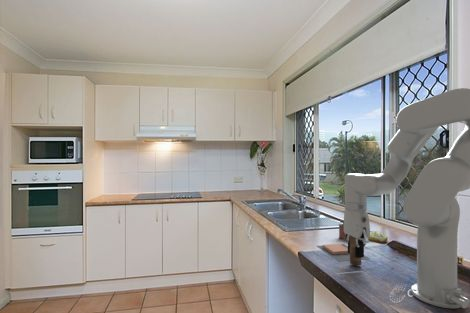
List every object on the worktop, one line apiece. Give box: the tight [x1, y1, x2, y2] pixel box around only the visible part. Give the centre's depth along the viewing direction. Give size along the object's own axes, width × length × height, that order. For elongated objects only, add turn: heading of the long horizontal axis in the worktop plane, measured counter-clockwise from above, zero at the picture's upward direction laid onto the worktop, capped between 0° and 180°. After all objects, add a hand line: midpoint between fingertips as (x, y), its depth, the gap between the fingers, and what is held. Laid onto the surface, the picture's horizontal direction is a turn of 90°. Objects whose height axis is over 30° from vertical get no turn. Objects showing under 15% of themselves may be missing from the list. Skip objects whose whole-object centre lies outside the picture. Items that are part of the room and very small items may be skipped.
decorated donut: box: [369, 230, 389, 244], centre depth 134 cm, size 10×11×4 cm
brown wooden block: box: [349, 235, 362, 266], centre depth 101 cm, size 4×4×13 cm
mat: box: [316, 243, 371, 263], centre depth 116 cm, size 19×14×1 cm
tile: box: [322, 243, 350, 255], centre depth 117 cm, size 9×1×8 cm
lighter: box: [338, 219, 347, 241], centre depth 134 cm, size 8×3×10 cm, turn 58°
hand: (355, 254), depth 101 cm, fingers closed on brown wooden block, 3 cm apart
